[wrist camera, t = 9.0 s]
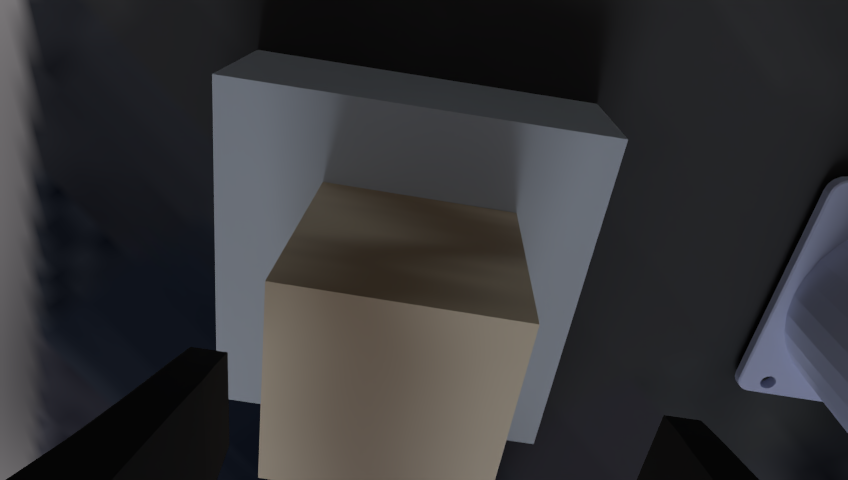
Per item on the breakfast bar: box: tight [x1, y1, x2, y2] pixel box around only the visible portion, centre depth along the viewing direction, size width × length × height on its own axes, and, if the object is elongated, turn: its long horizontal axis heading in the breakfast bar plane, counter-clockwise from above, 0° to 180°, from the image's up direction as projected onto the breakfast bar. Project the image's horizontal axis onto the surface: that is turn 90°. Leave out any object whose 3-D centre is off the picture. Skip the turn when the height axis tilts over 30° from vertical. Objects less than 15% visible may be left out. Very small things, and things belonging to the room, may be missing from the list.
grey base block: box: [212, 50, 628, 444], centre depth 18 cm, size 10×10×4 cm
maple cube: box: [258, 182, 540, 480], centre depth 14 cm, size 5×5×5 cm
